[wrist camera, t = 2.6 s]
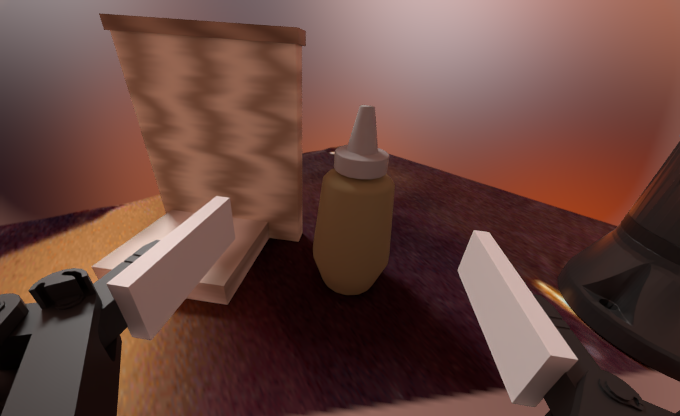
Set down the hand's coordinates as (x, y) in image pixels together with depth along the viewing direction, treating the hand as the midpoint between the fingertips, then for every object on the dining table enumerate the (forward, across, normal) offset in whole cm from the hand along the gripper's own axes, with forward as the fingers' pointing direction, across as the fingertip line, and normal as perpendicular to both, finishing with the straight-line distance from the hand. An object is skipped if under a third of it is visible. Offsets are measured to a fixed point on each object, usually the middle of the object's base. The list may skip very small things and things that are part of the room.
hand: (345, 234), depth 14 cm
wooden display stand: (+11, -16, -13) cm, 23 cm away
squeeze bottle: (+10, 0, -13) cm, 16 cm away
